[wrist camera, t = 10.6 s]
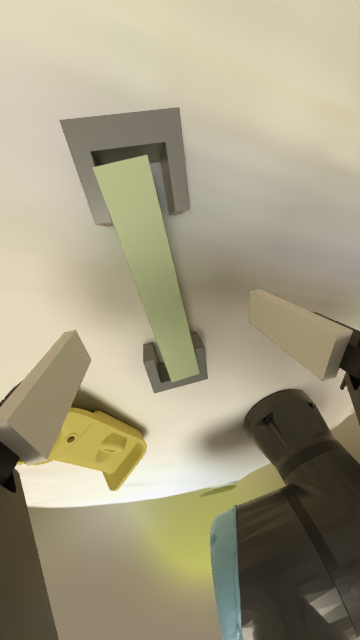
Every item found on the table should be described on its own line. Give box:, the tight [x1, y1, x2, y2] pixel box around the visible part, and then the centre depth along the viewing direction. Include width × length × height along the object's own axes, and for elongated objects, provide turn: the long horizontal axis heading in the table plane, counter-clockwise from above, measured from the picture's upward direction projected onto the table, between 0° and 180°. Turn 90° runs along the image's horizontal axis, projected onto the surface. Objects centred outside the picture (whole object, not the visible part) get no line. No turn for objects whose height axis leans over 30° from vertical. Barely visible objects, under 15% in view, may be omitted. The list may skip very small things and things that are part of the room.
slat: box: [93, 155, 200, 382], centre depth 18 cm, size 20×4×5 cm, turn 13°
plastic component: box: [17, 407, 147, 491], centre depth 26 cm, size 20×7×10 cm
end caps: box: [60, 107, 208, 393], centre depth 18 cm, size 25×7×4 cm, turn 9°
